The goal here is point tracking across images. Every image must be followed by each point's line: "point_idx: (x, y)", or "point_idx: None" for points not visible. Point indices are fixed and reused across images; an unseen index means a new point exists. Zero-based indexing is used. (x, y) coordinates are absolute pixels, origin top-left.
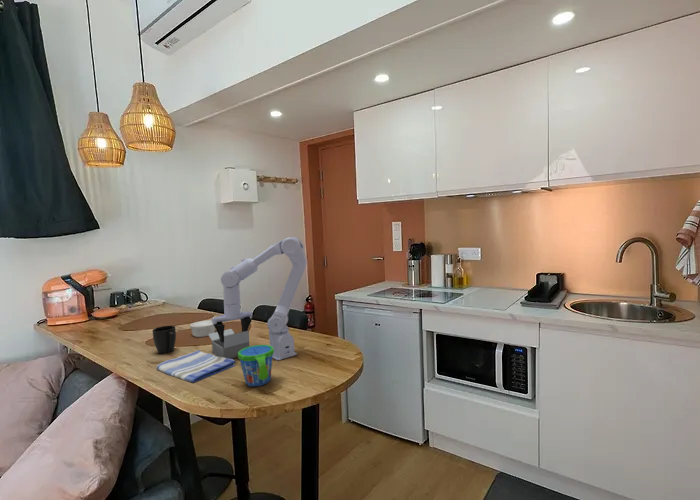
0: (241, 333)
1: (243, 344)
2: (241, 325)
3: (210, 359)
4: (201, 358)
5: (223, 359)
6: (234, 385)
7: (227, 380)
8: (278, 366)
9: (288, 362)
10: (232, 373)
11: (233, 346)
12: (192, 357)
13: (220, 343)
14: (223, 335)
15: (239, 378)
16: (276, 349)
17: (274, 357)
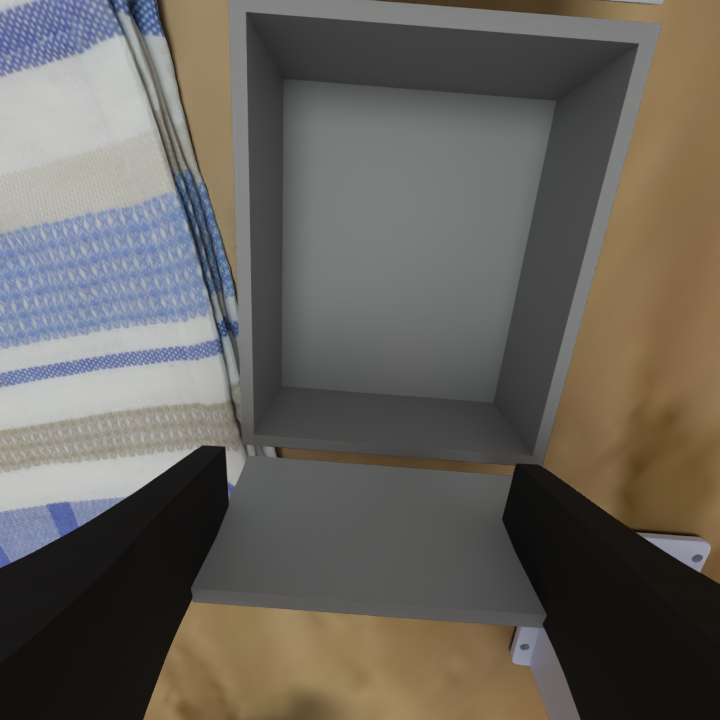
0: (472, 604)
1: (469, 454)
2: (642, 581)
3: (164, 349)
4: (95, 266)
5: (233, 476)
6: (186, 717)
7: (178, 660)
8: (454, 701)
9: (525, 699)
10: (231, 612)
11: (358, 448)
12: (25, 122)
13: (366, 48)
14: (174, 617)
15: (234, 680)
16: (562, 693)
17: (522, 630)
